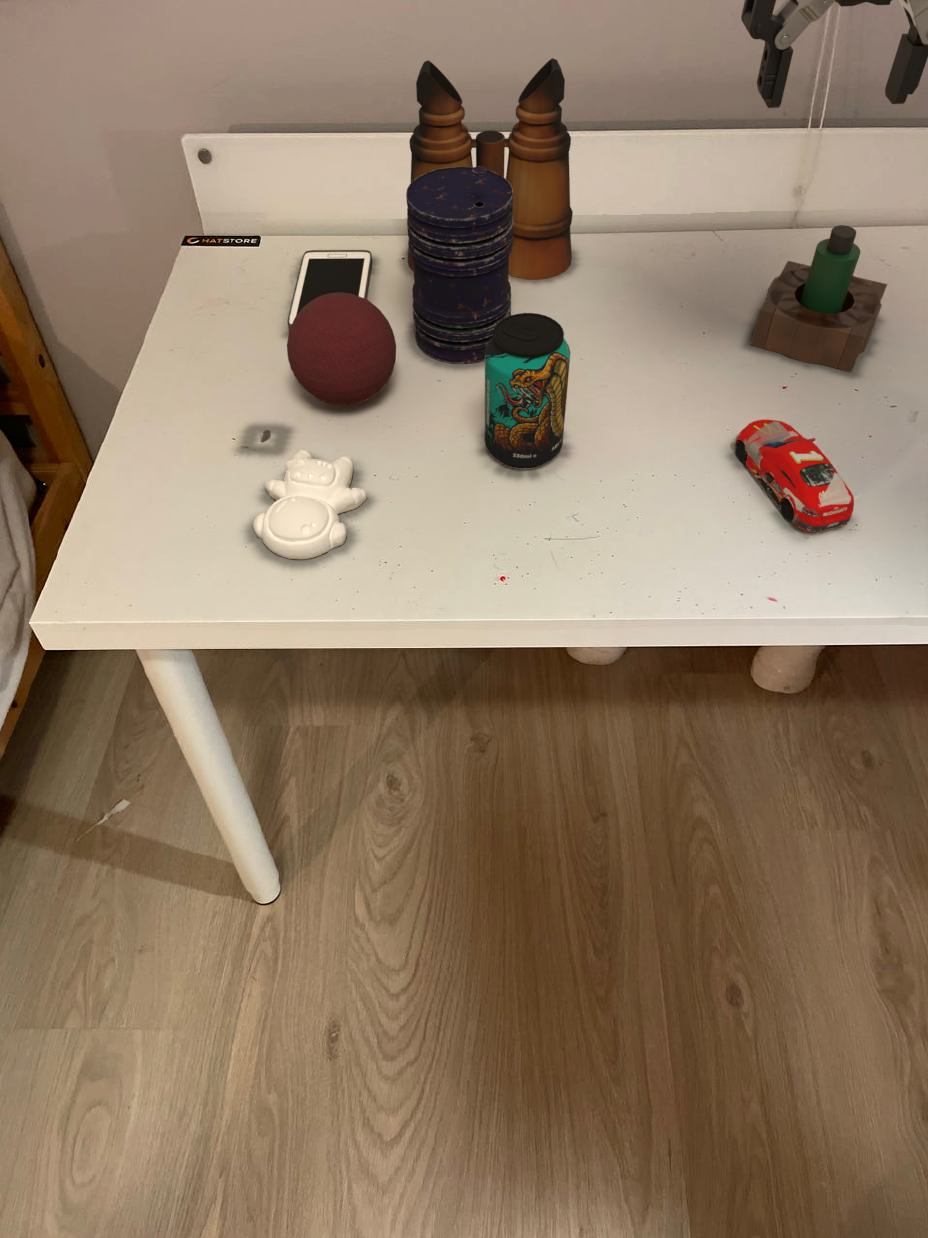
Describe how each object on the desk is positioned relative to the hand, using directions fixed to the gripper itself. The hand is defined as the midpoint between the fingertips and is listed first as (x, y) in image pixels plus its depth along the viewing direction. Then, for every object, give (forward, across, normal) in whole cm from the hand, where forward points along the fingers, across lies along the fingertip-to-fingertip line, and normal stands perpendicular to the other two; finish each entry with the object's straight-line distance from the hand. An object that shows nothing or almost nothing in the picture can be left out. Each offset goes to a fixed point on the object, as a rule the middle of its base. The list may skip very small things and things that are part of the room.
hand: (832, 101), depth 64 cm
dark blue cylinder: (+28, -26, +15) cm, 41 cm away
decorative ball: (+28, -37, +6) cm, 47 cm away
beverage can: (+28, -21, -2) cm, 35 cm away
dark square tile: (+29, -44, 0) cm, 53 cm away
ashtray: (+28, +10, +14) cm, 33 cm away
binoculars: (+28, -22, +30) cm, 46 cm away
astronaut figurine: (+28, -39, -9) cm, 49 cm away
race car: (+28, +2, -8) cm, 30 cm away
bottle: (+28, +10, +14) cm, 33 cm away
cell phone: (+28, -39, +24) cm, 54 cm away
